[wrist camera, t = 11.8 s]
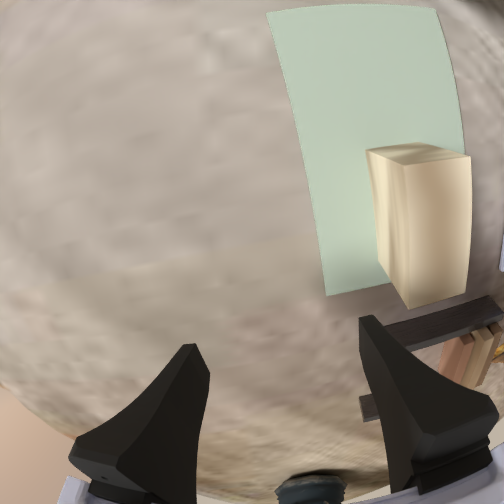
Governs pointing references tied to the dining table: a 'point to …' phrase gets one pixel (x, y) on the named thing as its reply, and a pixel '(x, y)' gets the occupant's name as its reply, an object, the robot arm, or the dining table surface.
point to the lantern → (312, 490)
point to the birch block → (422, 219)
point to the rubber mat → (361, 114)
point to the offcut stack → (470, 356)
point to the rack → (437, 333)
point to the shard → (499, 355)
